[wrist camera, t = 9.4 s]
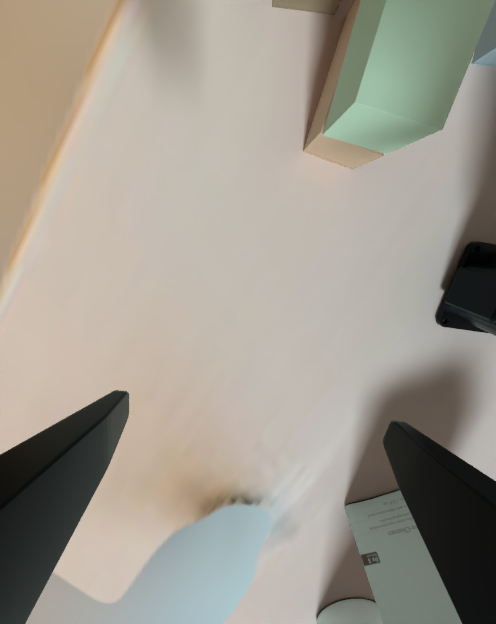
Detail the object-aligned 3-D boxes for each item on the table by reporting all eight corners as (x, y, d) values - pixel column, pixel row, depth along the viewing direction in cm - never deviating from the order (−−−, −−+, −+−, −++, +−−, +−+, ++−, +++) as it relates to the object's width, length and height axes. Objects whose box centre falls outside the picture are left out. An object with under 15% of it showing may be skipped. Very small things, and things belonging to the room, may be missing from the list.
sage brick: (376, -55, 11) (446, -197, 7) (450, -26, 11) (555, -147, 8) (322, 135, 13) (355, 101, 9) (386, 153, 14) (442, 128, 10)
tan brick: (346, 15, 15) (383, -55, 11) (401, 39, 15) (455, -20, 11) (302, 151, 17) (320, 132, 13) (351, 169, 17) (383, 155, 14)
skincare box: (416, 481, 27) (607, 763, 13) (427, 517, 29) (602, 797, 15) (338, 506, 28) (438, 794, 14) (353, 539, 30) (454, 823, 16)
